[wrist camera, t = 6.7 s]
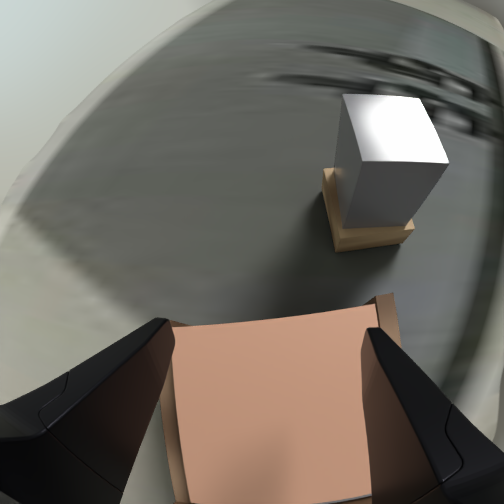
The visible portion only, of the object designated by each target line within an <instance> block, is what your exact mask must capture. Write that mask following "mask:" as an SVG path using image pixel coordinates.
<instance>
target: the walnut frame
mask: <svg viewBox="0 0 504 504" xmlns="http://www.w3.org/2000/svg"><path fill="white" fill-rule="evenodd" d="M371 304H375V308H376V314H377V321H378V327H380V328H382V329H383V330H384V331H385V332H386V333H387V334H388V335H389V336H390V337H391V338H392V339H393V341H394V342H395V343H396V344H397V345H398V346H399V347H400V348H401V341H400V333H399V326H398V319H397V313H396V307H395V301H394V295H393V293H390V294H384V295H379V296H375V297H374V298H372V299H371V300H370V301H368V302H367V303H365V304H364V305H363V306H365V305H371ZM169 321H170V323H171V326H172V327H187V326H190V325H187V324H183V323H179V322H175V321H172V320H169ZM160 405H161V414H162V422H163V430H164V437H165V444H166V451H167V457H168V463H169V469H170V475H171V480H172V485H173V490H174V495H175V500H176V502H175V503H174V504H195V503H191V501H190V496H189V491H188V486H187V480H186V474H185V469H184V462H183V456H182V449H181V442H180V435H179V427H178V418H177V409H176V400H175V389H174V378H173V364H172V358H171V362H170V365H169V369H168V373H167V376H166V380H165V383H164V386H163V389H162V392H161V394H160ZM330 504H372V496H368V497H363V498H358V499H354V500H348V501H343V502H337V503H330Z"/></svg>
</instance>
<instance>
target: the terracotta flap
mask: <svg viewBox="0 0 504 504" xmlns="http://www.w3.org/2000/svg"><path fill="white" fill-rule="evenodd" d="M369 327H378V321H377V314H376V308H375V304H371V305H365V306H359V307H354V308H347V309H341V310H335V311H328V312H322V313H315V314H308V315H300V316H292V317H284V318H276V319H267V320H258V321H249V322H238V323H227V324H215V325H202V326H187V327H172V330H173V333H174V336H175V347H174V351H173V354H172V364H173V378H174V389H175V400H176V409H177V418H178V427H179V435H180V442H181V449H182V456H183V462H184V469H185V474H186V480H187V486H188V491H189V496H190V501H191V503H195V504H330V503H337V502H343V501H348V500H354V499H358V498H363V497H368V496H372V494H371V478H370V465H369V454H368V444H367V435H366V427H365V419H364V411H363V403H362V377H361V347H362V343H363V338H364V334H365V331H366V329H367V328H369Z"/></svg>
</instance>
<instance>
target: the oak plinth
mask: <svg viewBox="0 0 504 504" xmlns="http://www.w3.org/2000/svg"><path fill="white" fill-rule="evenodd" d="M333 170H334V168H327V169H324V170H323V180H322V192H323V196H324V201H325V205H326V209H327V214H328V219H329V223H330V228H331V233H332V238H333V243H334V248H335V253H337V252H344V251H351V250H358V249H365V248H372V247H379V246H386V245H393V244H399V243H403V242H404V241H405V240H406V238H407V237H408V236H409V235H410V234H411V233H412V231H413V230H414V229H415V228H414V225H413V221H412V218H411V220H410V221H409V222H408V224H407V225H406V226H394V227H372V228H352V229H342V222H341V215H340V208H339V201H338V195H337V189H336V183H335V178H334V172H333Z"/></svg>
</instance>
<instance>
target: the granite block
mask: <svg viewBox="0 0 504 504" xmlns="http://www.w3.org/2000/svg"><path fill="white" fill-rule="evenodd" d="M448 165H449V161H448V159H447V156H446V154H445V151H444V149H443V147H442V144H441V142H440V140H439V138H438V135H437V133H436V131H435V129H434V127H433V125H432V123H431V121H430V119H429V117H428V115H427V113H426V111H425V109H424V107H423V105H422V103H421V101H420V100H419V99H418V98H409V97H398V96H385V95H365V94H342V103H341V113H340V122H339V131H338V139H337V147H336V155H335V163H334V170H333V172H334V178H335V183H336V189H337V195H338V201H339V208H340V215H341V222H342V229H352V228H372V227H394V226H406V225H407V224H408V222H409V221H410V220H411V218H412V217H413V216H414V214H415V213H416V212H417V210H418V209H419V208H420V206H421V205H422V203H423V202H424V201H425V199H426V198H427V196H428V195H429V193H430V192H431V191H432V189H433V188H434V186H435V185H436V183H437V182H438V180H439V179H440V177H441V176H442V174H443V173H444V171H445V170H446V168H447V166H448Z"/></svg>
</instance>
